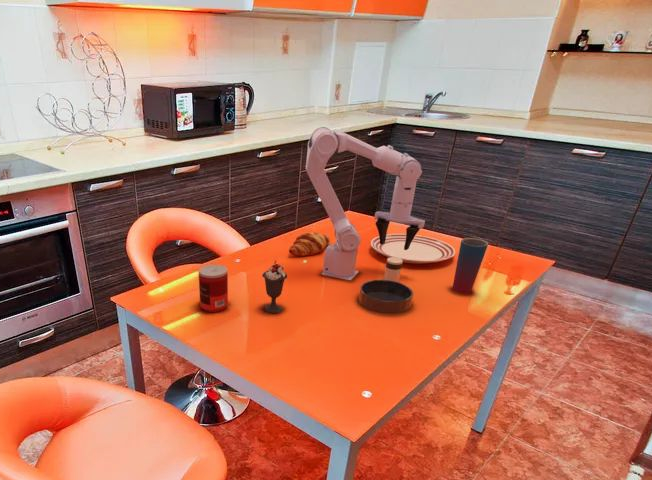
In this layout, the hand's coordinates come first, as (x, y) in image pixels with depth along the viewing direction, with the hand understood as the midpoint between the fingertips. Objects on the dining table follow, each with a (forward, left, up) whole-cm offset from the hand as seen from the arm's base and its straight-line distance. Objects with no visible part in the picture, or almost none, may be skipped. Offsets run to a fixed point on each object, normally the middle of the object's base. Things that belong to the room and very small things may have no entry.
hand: (394, 246), depth 145 cm
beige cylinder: (+2, -7, -9) cm, 12 cm away
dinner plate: (+1, +21, -10) cm, 23 cm away
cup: (+21, -1, -10) cm, 23 cm away
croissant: (-30, +7, -10) cm, 32 cm away
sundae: (-21, -39, -10) cm, 45 cm away
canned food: (-36, -46, -10) cm, 59 cm away
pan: (+4, -20, -9) cm, 23 cm away
